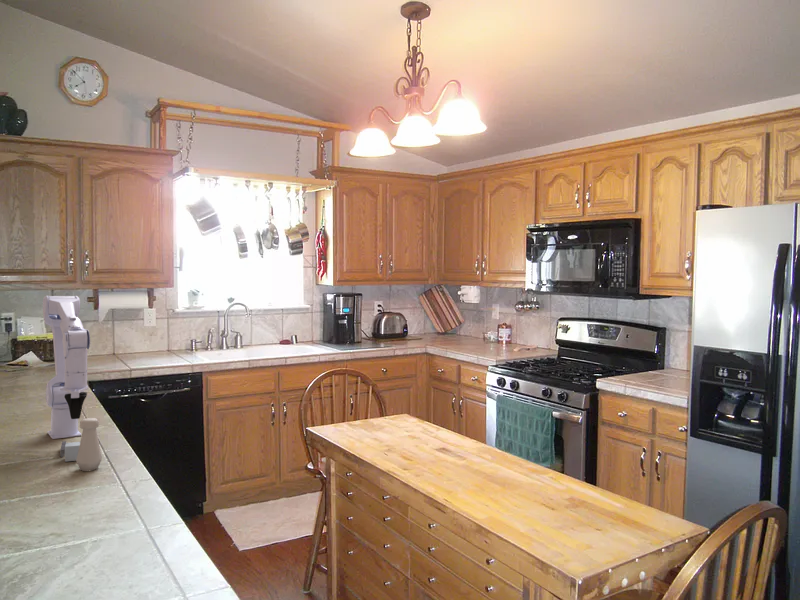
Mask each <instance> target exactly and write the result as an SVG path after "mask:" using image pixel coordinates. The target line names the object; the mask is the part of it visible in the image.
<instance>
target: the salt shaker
mask: <svg viewBox="0 0 800 600" xmlns="http://www.w3.org/2000/svg"><path fill="white" fill-rule="evenodd" d="M99 421H100V420H99V419H97V418H96V417H88V418H86V417H85V418H84V419H82V420H81V421H80V423H79V428H80V429H81V430H82V433H81V434H82V435H81V438H80V441H79V442H80V446H79V451H78V455H77V460H76V464H77V465H78V468H79V471H81V470H82V472H89V470H91V471H94V470H97V469H99V467H100V464H101V462H102V459H103V457H102V451H101V446H100V442H99V436H98V431H97V428H98V427H99V425H100V422H99ZM96 468H97V469H96Z"/></svg>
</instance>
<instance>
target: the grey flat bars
mask: <svg viewBox="0 0 800 600" xmlns="http://www.w3.org/2000/svg"><path fill="white" fill-rule="evenodd" d="M66 443H67V441H66V440H64V441H61V446H60V449H59V450H60V452H59V454H60V455H59V457H60V458H64V457H63V456H65V445H66Z"/></svg>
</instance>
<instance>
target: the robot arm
mask: <svg viewBox="0 0 800 600" xmlns="http://www.w3.org/2000/svg"><path fill="white" fill-rule="evenodd" d="M42 299H43V300H42V313H43V314H42V315H43V317H42V318H43V321H44V324H45V325H47V326H49V327H50V330H51V332H52V341H53V356H54V357H53V358H54V368H55V376H53V377H52V378H51V379H49V380H48V381H47V384H46V388H45V390H46V391H45V401H46V405H47V406H48V407H49V408H51V413H50V430H47V434H48V436H49V437H50V438H51V439H52V440H56V439H62V438H64V439H65V438H71V437H80V436H81V437H82V433H81V432H80V431H79V419H80V418H81V415H82V408H83V404H84V402H85V400H86V398H87V396H88V392H87V390H88V389H89V386H88V350H90V347H91V334H90V330H89V329H87V328H84V324H83V322H82V320H81V319H80V318H79V314H80V311H81V299H80V297H79V296H78V295H45V296H44V297H43V298H42Z"/></svg>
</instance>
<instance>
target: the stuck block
mask: <svg viewBox="0 0 800 600" xmlns="http://www.w3.org/2000/svg"><path fill="white" fill-rule="evenodd" d="M79 446H80V441H73V442H72V441H71V442H66V445H65V457H64V462H75V461H76V460H77V455H78V451H79ZM76 462H77V461H76Z"/></svg>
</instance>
